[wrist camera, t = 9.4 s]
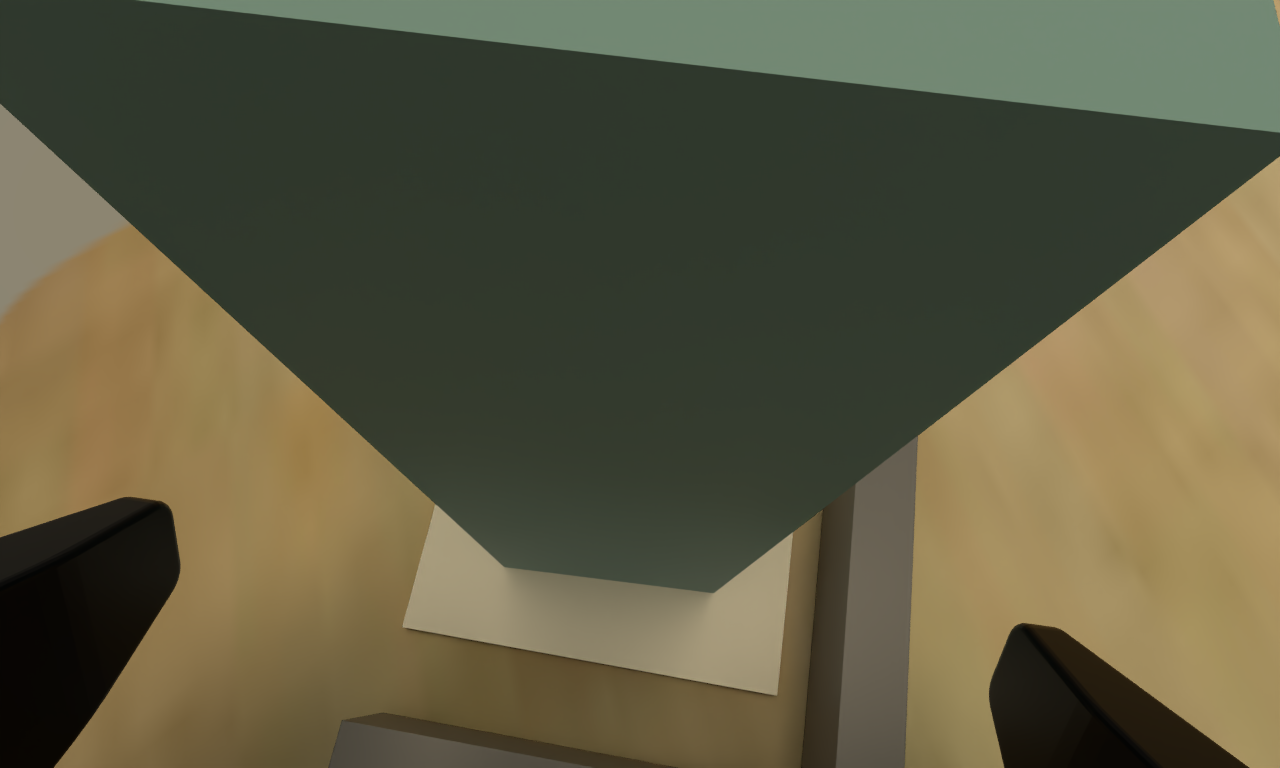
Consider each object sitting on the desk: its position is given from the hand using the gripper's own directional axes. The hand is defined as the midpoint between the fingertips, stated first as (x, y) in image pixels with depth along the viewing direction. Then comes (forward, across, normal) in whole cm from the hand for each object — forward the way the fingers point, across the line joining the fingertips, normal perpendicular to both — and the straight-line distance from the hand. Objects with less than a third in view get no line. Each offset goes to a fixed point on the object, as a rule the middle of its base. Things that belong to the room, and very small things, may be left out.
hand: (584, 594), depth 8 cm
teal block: (+8, 0, +4) cm, 9 cm away
